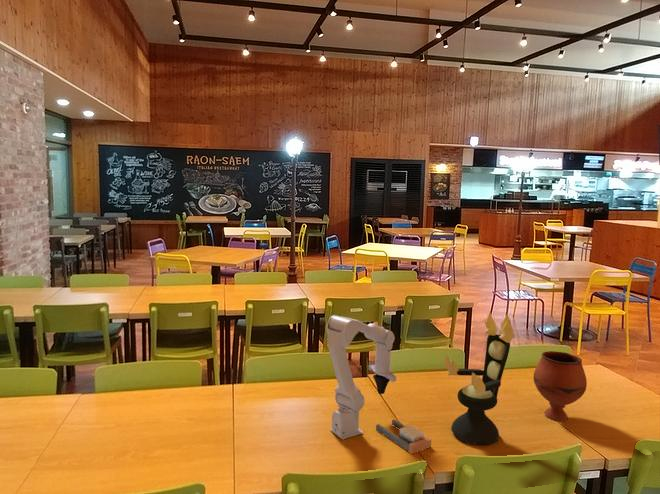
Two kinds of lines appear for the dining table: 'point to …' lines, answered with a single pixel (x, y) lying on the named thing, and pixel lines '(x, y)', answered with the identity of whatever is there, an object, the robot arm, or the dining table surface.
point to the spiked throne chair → (482, 386)
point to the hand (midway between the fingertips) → (381, 393)
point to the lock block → (410, 434)
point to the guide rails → (410, 447)
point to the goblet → (559, 381)
